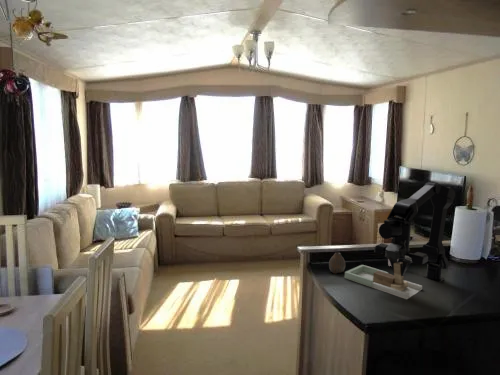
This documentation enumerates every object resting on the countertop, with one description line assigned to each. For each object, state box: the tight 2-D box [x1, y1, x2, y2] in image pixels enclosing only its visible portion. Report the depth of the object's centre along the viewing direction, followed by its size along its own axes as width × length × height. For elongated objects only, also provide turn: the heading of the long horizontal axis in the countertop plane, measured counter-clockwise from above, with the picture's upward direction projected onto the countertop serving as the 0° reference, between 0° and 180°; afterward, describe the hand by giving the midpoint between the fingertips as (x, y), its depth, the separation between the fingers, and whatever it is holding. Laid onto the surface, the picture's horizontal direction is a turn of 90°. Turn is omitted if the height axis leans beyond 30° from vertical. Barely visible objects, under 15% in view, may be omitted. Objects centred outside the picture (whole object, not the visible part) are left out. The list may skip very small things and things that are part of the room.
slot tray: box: [344, 264, 423, 300], centre depth 147 cm, size 14×26×4 cm, turn 43°
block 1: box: [373, 270, 387, 285], centre depth 147 cm, size 4×4×4 cm
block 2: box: [382, 273, 395, 288], centre depth 145 cm, size 4×4×4 cm
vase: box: [328, 252, 346, 275], centre depth 160 cm, size 7×7×9 cm
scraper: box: [391, 261, 408, 291], centre depth 142 cm, size 7×4×10 cm, turn 134°
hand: (398, 274), depth 142 cm, fingers closed on scraper, 3 cm apart
